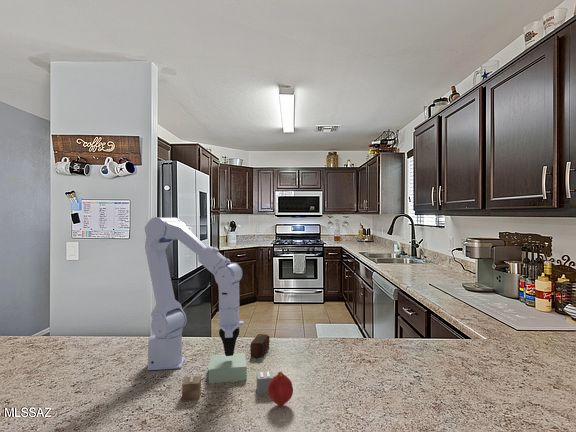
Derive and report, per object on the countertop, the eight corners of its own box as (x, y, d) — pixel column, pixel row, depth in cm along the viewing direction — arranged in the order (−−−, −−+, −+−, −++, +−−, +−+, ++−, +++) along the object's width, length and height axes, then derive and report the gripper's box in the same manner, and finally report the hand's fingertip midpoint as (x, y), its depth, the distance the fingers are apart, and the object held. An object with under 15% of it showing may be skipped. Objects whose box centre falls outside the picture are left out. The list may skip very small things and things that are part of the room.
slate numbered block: (257, 395, 88) (257, 378, 88) (256, 387, 92) (256, 371, 92) (273, 394, 89) (273, 377, 89) (272, 386, 93) (272, 370, 93)
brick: (262, 358, 112) (262, 343, 112) (250, 357, 112) (250, 342, 112) (269, 346, 122) (269, 332, 122) (258, 346, 123) (258, 332, 123)
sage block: (208, 384, 95) (208, 369, 95) (210, 369, 105) (210, 355, 105) (246, 381, 96) (246, 366, 96) (244, 366, 106) (244, 352, 106)
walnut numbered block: (182, 401, 86) (182, 383, 86) (184, 393, 90) (184, 376, 90) (199, 399, 86) (199, 382, 86) (200, 392, 90) (200, 375, 90)
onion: (267, 399, 86) (267, 366, 86) (291, 398, 86) (291, 365, 86) (268, 413, 80) (268, 377, 80) (294, 411, 80) (294, 375, 80)
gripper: (244, 312, 95) (244, 364, 95) (243, 300, 109) (243, 345, 109) (216, 314, 94) (217, 366, 94) (219, 301, 108) (219, 346, 108)
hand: (229, 355), depth 101 cm, fingers closed
